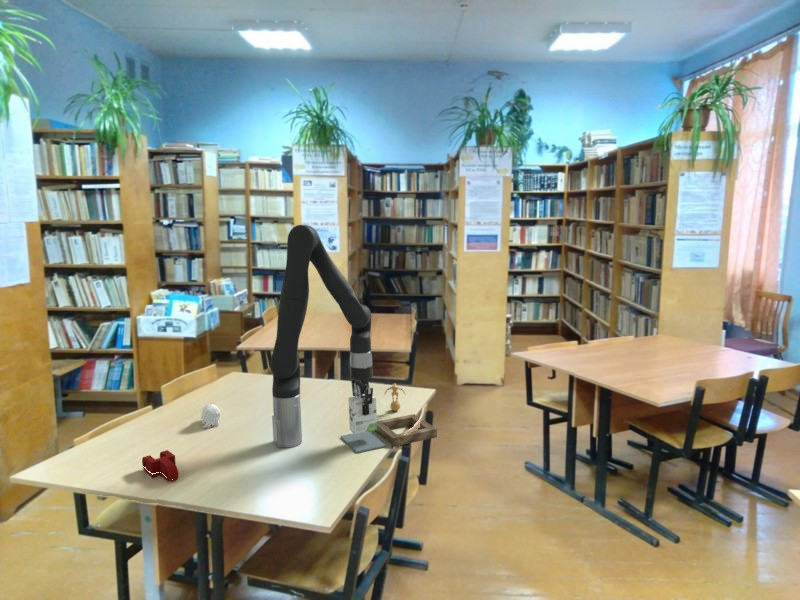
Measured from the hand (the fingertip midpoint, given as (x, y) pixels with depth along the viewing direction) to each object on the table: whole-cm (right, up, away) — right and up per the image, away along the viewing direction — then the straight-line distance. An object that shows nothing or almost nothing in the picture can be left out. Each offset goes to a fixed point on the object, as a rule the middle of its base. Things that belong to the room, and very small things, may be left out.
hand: (362, 412), depth 186 cm
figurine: (+11, -6, +31) cm, 34 cm away
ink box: (0, -7, +1) cm, 7 cm away
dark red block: (-59, -15, -20) cm, 64 cm away
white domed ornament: (-60, -9, +21) cm, 64 cm away
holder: (+14, -9, +9) cm, 19 cm away
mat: (0, -11, +1) cm, 11 cm away
